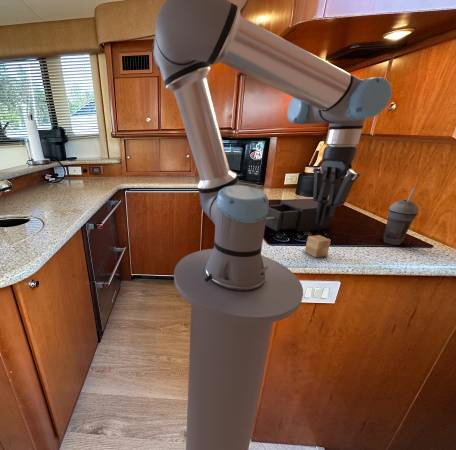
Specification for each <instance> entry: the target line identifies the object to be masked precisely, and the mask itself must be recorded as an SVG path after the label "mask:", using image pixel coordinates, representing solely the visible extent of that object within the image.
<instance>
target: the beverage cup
mask: <svg viewBox="0 0 456 450" xmlns="http://www.w3.org/2000/svg"><path fill="white" fill-rule="evenodd" d="M415 190H416V188H415V187H412V190H411V191H410V194H409V196H408V198H407V199H400V200H397V201H395V202H393V203H392V204H391V205H390V206H389V208H388V211H387V221H386V225H385V229H384V234H383V239H382V241H383V242H384V243H385V244H388V245H394V246H399V245H401V243H402V242H403V241H404V239H405V236H406V235H407V232H408V231H409V229H410V227H411V225H412V223H413V221H414V220H415V219H416V218H417V216H418V215H419V207H418V205H417V203H415V202H414V201H412V200H411V198H412V197H413V194H414V192H415Z"/></svg>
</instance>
